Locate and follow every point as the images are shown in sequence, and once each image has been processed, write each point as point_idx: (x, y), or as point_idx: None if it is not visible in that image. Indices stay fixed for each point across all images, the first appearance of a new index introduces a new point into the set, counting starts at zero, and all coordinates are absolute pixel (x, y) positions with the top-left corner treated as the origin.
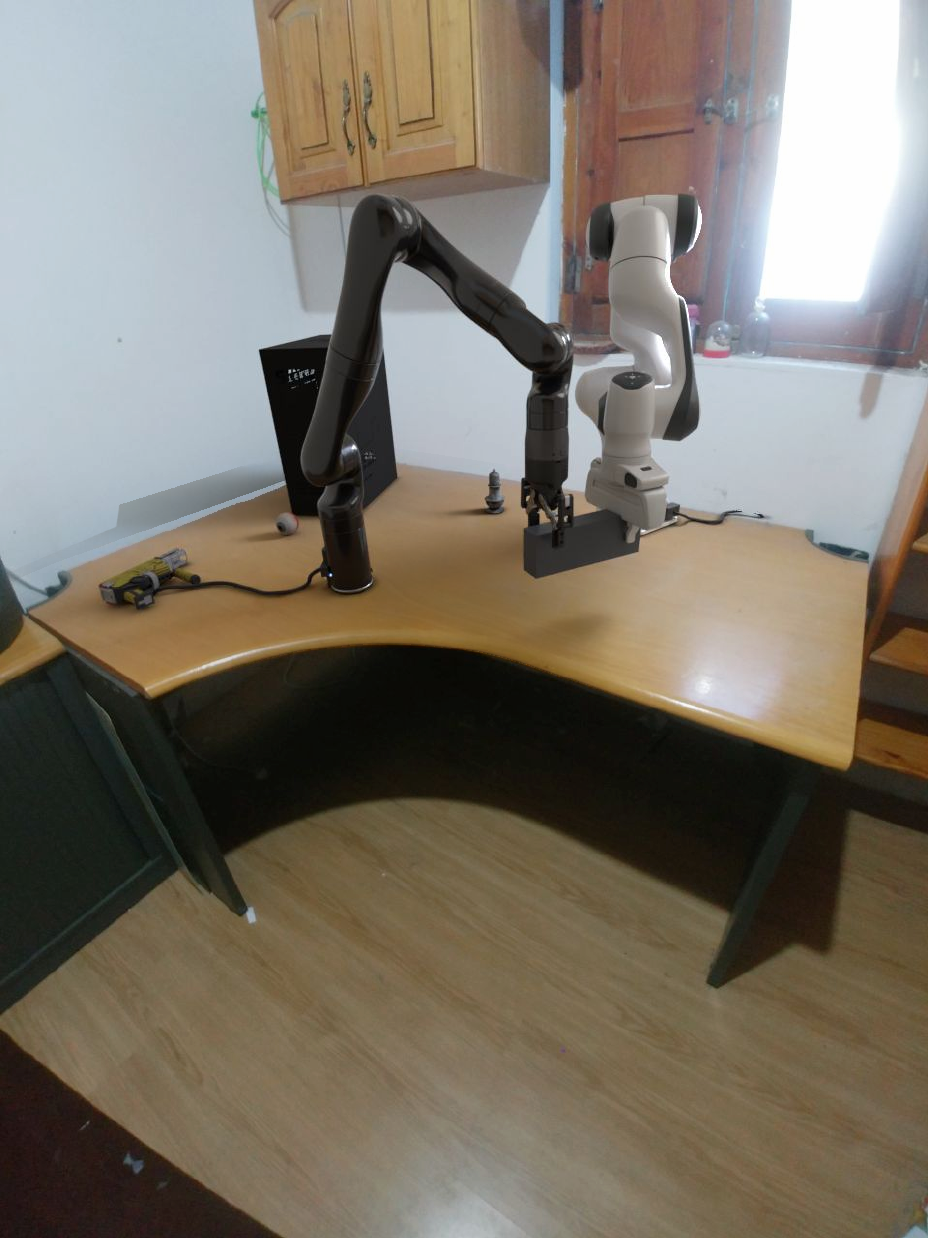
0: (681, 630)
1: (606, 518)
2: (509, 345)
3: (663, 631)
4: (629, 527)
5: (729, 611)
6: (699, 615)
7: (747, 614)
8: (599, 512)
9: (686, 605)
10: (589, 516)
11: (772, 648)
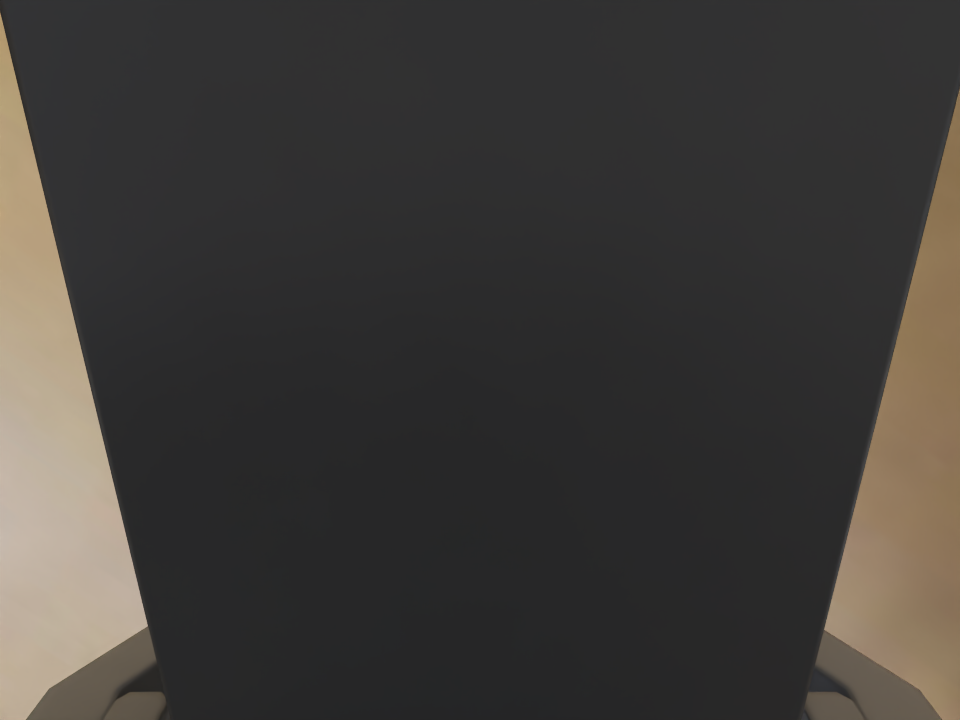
0: (8, 374)
1: (164, 480)
2: None
3: (22, 293)
4: (106, 689)
5: (107, 642)
6: (116, 528)
7: (61, 676)
8: (697, 585)
9: None
10: (623, 125)
11: None
